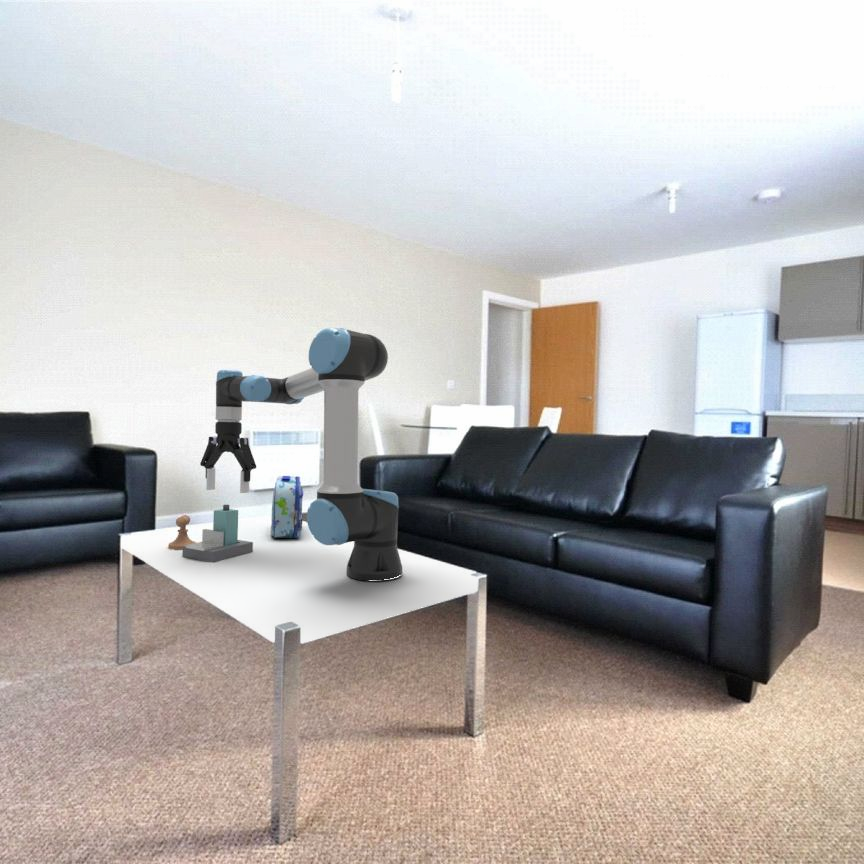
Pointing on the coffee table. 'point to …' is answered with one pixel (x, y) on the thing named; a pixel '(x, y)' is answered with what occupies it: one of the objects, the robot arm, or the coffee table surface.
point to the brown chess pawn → (181, 534)
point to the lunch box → (287, 507)
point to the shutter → (208, 540)
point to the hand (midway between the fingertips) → (227, 491)
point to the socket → (219, 552)
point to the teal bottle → (226, 524)
